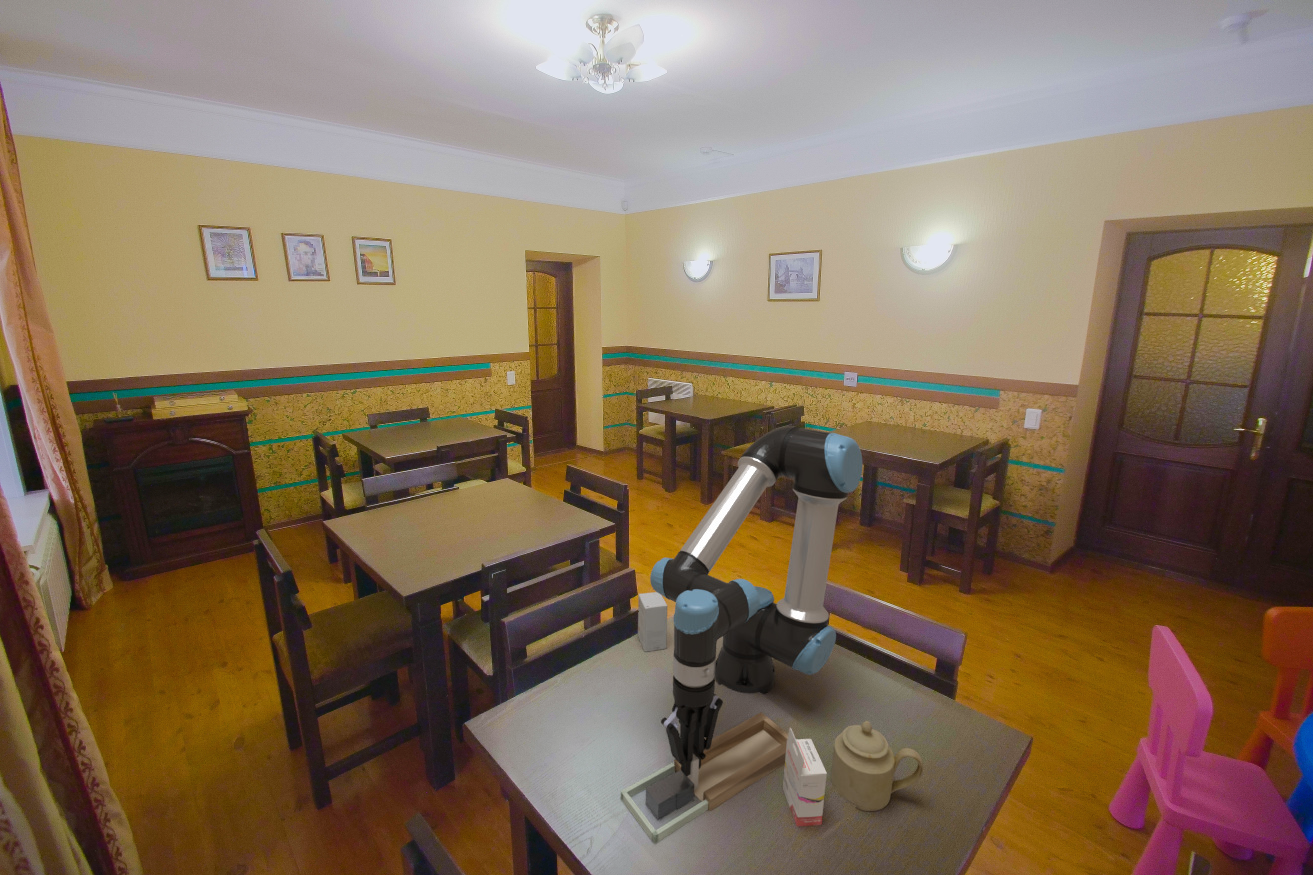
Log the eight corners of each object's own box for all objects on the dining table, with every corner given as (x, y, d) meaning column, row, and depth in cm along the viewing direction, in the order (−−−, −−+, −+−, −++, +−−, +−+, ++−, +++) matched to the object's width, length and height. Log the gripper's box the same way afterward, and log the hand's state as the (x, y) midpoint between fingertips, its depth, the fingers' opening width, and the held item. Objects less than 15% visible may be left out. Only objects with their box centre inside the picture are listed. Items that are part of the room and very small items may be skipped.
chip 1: (645, 806, 103) (645, 788, 102) (663, 796, 105) (663, 778, 105) (657, 822, 100) (658, 803, 99) (675, 811, 102) (676, 793, 101)
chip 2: (663, 796, 105) (664, 778, 104) (680, 786, 108) (681, 769, 107) (676, 812, 102) (676, 794, 101) (693, 801, 104) (694, 783, 103)
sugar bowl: (890, 760, 115) (898, 697, 112) (921, 807, 105) (931, 738, 101) (821, 767, 113) (827, 702, 110) (845, 814, 103) (853, 745, 99)
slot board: (673, 774, 111) (674, 759, 110) (760, 725, 124) (761, 712, 124) (709, 815, 102) (710, 799, 101) (798, 757, 116) (799, 743, 115)
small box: (666, 649, 152) (668, 605, 149) (644, 652, 150) (644, 608, 147) (659, 632, 159) (660, 590, 156) (637, 635, 158) (637, 593, 155)
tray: (620, 802, 105) (620, 791, 104) (672, 773, 111) (672, 762, 111) (654, 848, 96) (654, 836, 95) (708, 813, 103) (708, 802, 102)
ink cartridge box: (823, 829, 100) (830, 759, 97) (795, 830, 99) (802, 761, 96) (806, 789, 108) (812, 723, 105) (781, 790, 108) (786, 724, 104)
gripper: (677, 701, 94) (674, 816, 99) (735, 673, 101) (729, 782, 106) (652, 677, 100) (650, 787, 105) (708, 652, 107) (704, 756, 112)
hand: (690, 784), depth 106 cm, fingers closed
